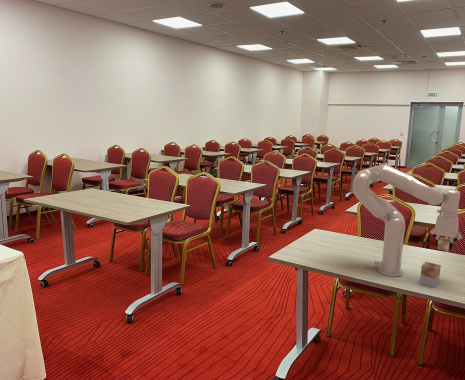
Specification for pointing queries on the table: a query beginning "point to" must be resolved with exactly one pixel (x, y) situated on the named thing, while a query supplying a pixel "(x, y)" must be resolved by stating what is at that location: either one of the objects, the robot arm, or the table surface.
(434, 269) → the top block
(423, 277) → the base block
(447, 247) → the oak cube
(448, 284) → the table surface
